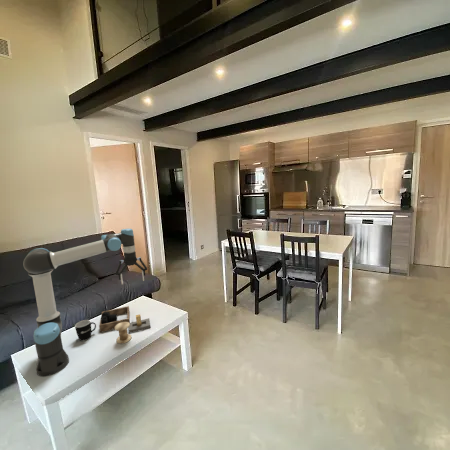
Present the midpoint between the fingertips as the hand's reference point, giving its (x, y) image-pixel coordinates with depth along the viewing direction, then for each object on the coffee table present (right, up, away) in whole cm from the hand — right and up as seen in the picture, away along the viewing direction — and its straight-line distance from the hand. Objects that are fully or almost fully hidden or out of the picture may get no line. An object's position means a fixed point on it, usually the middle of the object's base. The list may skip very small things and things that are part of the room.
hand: (133, 282), depth 172 cm
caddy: (-17, -32, +14) cm, 39 cm away
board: (+3, -32, +4) cm, 33 cm away
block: (+3, -32, +4) cm, 32 cm away
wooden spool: (-2, -35, -9) cm, 36 cm away
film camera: (-21, -33, +11) cm, 40 cm away
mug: (-29, -36, -3) cm, 46 cm away
